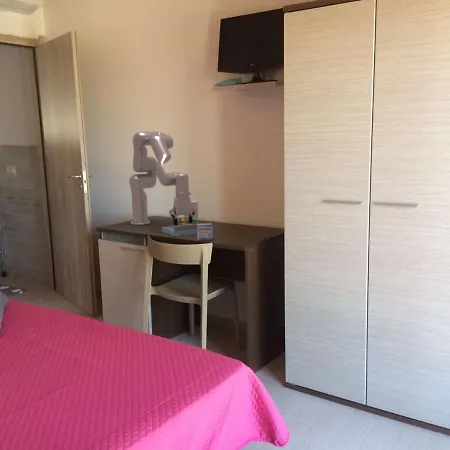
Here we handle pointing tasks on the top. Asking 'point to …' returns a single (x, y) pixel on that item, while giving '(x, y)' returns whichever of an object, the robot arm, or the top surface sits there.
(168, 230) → the jig
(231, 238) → the top surface
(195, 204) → the skincare box
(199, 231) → the medicine box
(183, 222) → the bushing
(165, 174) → the robot arm
